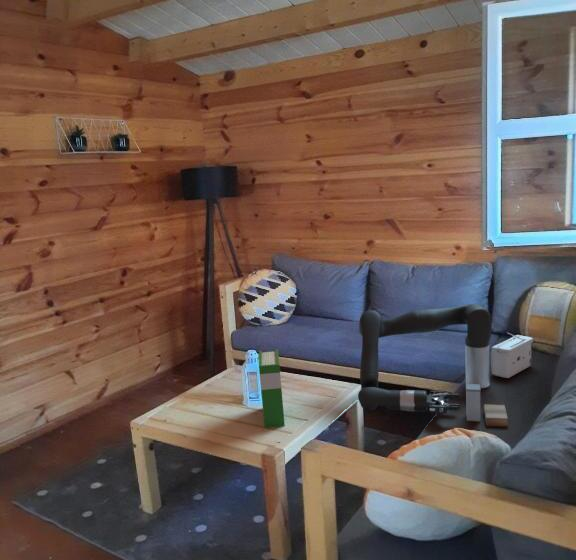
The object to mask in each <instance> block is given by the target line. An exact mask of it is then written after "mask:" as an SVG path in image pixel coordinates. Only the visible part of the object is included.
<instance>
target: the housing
mask: <svg viewBox="0 0 576 560" xmlns="http://www.w3.org/2000/svg"><path fill="white" fill-rule="evenodd" d="M481 389H482V388H480V384H466V383H465V396H466V397H465V399H466V400H465V401H466V403H465V404H466V406H465V408H466V409H465V410H466V412H465V414H466V421H467V422H481V419H482V418H481V392H482V391H481Z"/></svg>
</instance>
